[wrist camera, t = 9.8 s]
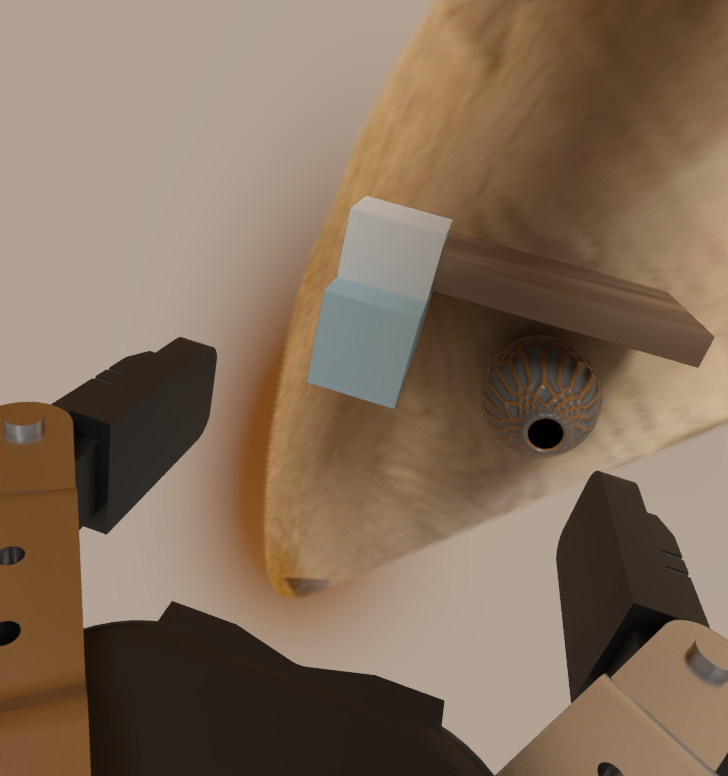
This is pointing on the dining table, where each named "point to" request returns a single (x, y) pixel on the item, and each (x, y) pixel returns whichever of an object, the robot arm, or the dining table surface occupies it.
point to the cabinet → (377, 300)
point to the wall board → (570, 298)
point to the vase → (541, 396)
